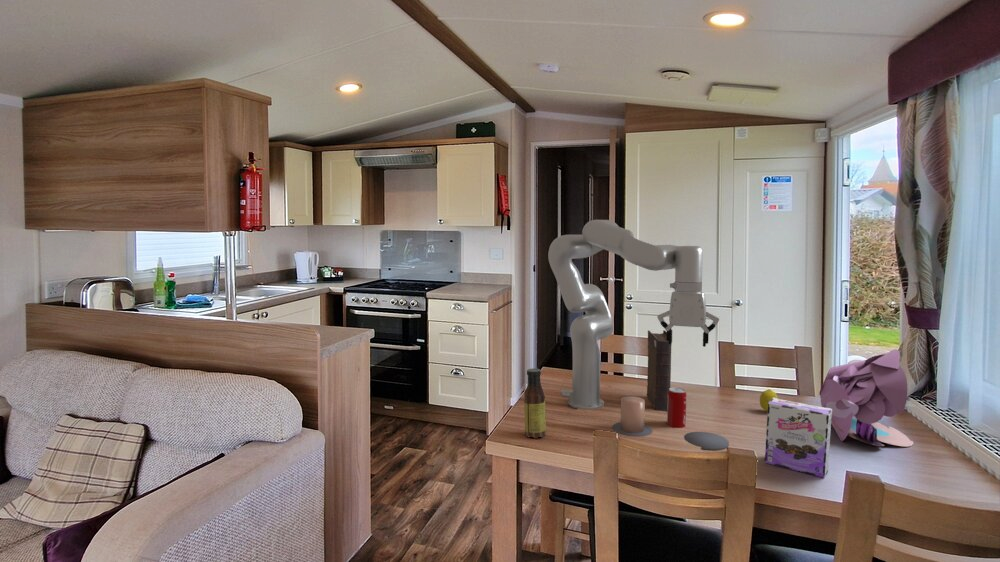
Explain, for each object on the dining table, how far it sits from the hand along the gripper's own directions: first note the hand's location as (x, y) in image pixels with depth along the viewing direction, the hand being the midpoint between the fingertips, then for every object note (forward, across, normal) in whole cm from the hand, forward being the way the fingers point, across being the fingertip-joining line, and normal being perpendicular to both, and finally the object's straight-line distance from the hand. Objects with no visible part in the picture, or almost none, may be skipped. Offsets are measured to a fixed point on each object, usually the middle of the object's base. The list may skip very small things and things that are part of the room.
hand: (687, 344), depth 158 cm
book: (+27, -11, +22) cm, 36 cm away
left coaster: (+27, -15, -6) cm, 31 cm away
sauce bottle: (+26, -41, -21) cm, 53 cm away
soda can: (+27, -3, +3) cm, 27 cm away
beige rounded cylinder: (+26, -15, -6) cm, 31 cm away
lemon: (+27, +24, +28) cm, 46 cm away
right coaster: (+27, +6, -6) cm, 28 cm away
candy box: (+27, +28, -14) cm, 42 cm away
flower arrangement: (+28, +50, +20) cm, 61 cm away
